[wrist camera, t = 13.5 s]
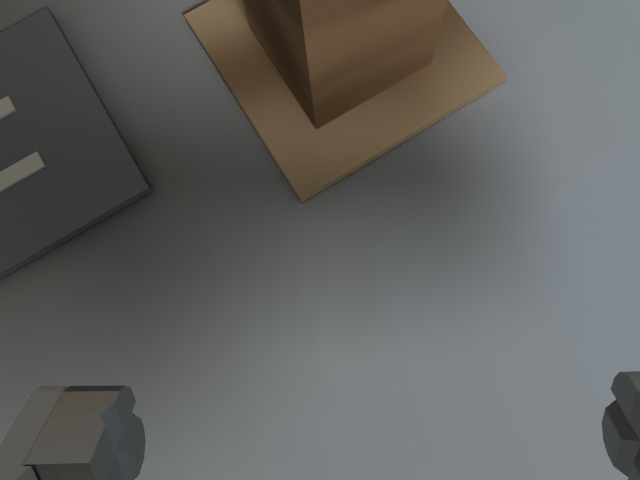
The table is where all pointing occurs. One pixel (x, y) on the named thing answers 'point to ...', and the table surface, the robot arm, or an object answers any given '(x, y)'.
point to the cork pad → (357, 124)
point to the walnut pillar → (344, 47)
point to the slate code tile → (54, 146)
